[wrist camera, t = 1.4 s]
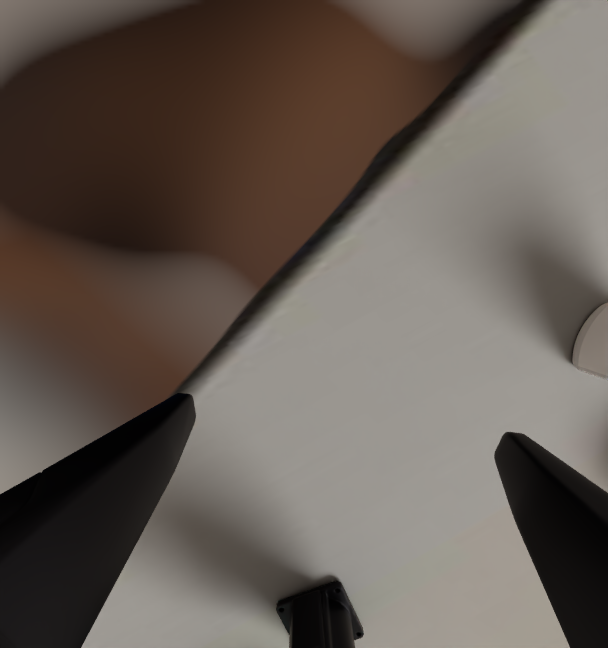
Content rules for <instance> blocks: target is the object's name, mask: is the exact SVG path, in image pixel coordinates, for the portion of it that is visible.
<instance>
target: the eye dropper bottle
mask: <svg viewBox="0 0 608 648" xmlns="http://www.w3.org/2000/svg"><path fill="white" fill-rule="evenodd" d="M573 364H574V366H575V367H576V368H577V369H579V370H581V371H583V372H586V373H589V374H592V375H594V376H597V377H600V378H603V379H606V380H608V303H605V304H603V305H601V306H599V307H598V308H597V309H596V310H595V311H594V312H593V313H592V314H591V315H590V317H589V318H588V319H587V320H586V322H585V323H584V325H583V326H582V328H581V330H580V332H579V334H578V336H577V339H576V342H575V345H574V350H573Z"/></svg>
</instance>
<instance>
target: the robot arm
mask: <svg viewBox="0 0 608 648" xmlns="http://www.w3.org/2000/svg"><path fill="white" fill-rule="evenodd" d="M195 419H196V413H195V407H194V400H193V397H192V395H190V394H183V393H178V394H175V395H174V396H172V397H170V398H168V399H167V400H165V401H163V402H161V403H160V404H158V405H156V406H154V407H153V408H151V409H149V410H147V411H146V412H144V413H142V414H141V415H139V416H137V417H135V418H133V419H132V420H130V421H128V422H126V423H125V424H123V425H121V426H120V427H118V428H116V429H115V430H113V431H111V432H109V433H107V434H106V435H104V436H102V437H100V438H99V439H97V440H95V441H93V442H92V443H90V444H88V445H86V446H85V447H83V448H81V449H79V450H78V451H76V452H74V453H72V454H71V455H69V456H67V457H65V458H64V459H62V460H60V461H58V462H57V463H55V464H53V465H51V466H50V467H48V468H46V469H44V470H43V471H42V473H37V474H36V475H34V476H32V477H30V478H29V479H27V480H25V481H23V482H22V483H20V484H18V485H16V486H14V487H13V488H11V489H9V490H7V491H5V492H4V493H2V494H0V648H81V647H82V645H83V643H84V641H85V639H86V637H87V635H88V634H89V632H90V630H91V628H92V626H93V624H94V622H95V620H96V619H97V617H98V615H99V613H100V611H101V609H102V607H103V605H104V603H105V602H106V600H107V598H108V596H109V594H110V592H111V590H112V588H113V587H114V585H115V583H116V581H117V579H118V577H119V575H120V573H121V572H122V570H123V568H124V566H125V564H126V562H127V560H128V558H129V556H130V555H131V553H132V551H133V549H134V547H135V545H136V543H137V541H138V540H139V538H140V536H141V534H142V532H143V530H144V528H145V526H146V524H147V523H148V521H149V519H150V517H151V515H152V513H153V511H154V509H155V508H156V506H157V504H158V502H159V500H160V498H161V496H162V494H163V493H164V491H165V489H166V487H167V485H168V483H169V481H170V479H171V477H172V475H173V473H174V471H175V469H176V467H177V464H178V462H179V460H180V457H181V455H182V452H183V450H184V447H185V445H186V443H187V440H188V438H189V435H190V433H191V430H192V428H193V425H194V423H195ZM494 458H495V463H496V466H497V469H498V472H499V475H500V478H501V481H502V484H503V487H504V490H505V493H506V496H507V499H508V502H509V505H510V508H511V511H512V514H513V516H514V519H515V522H516V524H517V527H518V529H519V531H520V534H521V536H522V538H523V541H524V543H525V545H526V547H527V550H528V552H529V554H530V557H531V559H532V561H533V563H534V566H535V568H536V570H537V573H538V575H539V577H540V580H541V582H542V584H543V586H544V589H545V591H546V593H547V596H548V598H549V600H550V603H551V605H552V607H553V609H554V612H555V614H556V616H557V619H558V621H559V623H560V625H561V628H562V630H563V632H564V635H565V637H566V639H567V642H568V644H569V646H570V648H608V493H607V492H606V491H604V490H603V489H601V488H600V487H598V486H597V485H596V484H594V483H593V482H591V481H590V480H588V479H587V478H586V477H584V476H583V475H581V474H580V473H579V472H577V471H576V470H574V469H573V468H571V467H570V466H569V465H567V464H566V463H564V462H563V461H561V460H560V459H559V458H557V457H556V456H554V455H553V454H551V453H550V452H549V451H547V450H546V449H544V448H543V447H542V446H540V445H539V444H537V443H536V442H534V441H533V440H532V439H530V438H529V437H527V436H526V435H524V434H521V433H514V432H506V433H505V434H504V435H503V436H502V438H501V440H500V443H499V445H498V447H497V449H496V451H495V455H494ZM276 611H277V613H278V615H279V617H280V619H281V620H282V622H283V624H284V626H285V628H286V630H287V632H288V633H289V635H290V637H289V648H355V644H354V640H356V639H359V638H361V637H363V635H364V633H363V627H362V625H361V623H360V621H359V619H358V617H357V615H356V613H355V611H354V608H353V606H352V604H351V602H350V600H349V598H348V596H347V594H346V592H345V590H344V587H343V585H342V584H341V582H338V581H336V582H333V583H330V584H327V585H324V586H321V587H318V588H315V589H312V590H310V591H307V592H304V593H301V594H298V595H295V596H292V597H289V598H287V599H284V600H281V601H279V602H278V603H277V606H276Z"/></svg>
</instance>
